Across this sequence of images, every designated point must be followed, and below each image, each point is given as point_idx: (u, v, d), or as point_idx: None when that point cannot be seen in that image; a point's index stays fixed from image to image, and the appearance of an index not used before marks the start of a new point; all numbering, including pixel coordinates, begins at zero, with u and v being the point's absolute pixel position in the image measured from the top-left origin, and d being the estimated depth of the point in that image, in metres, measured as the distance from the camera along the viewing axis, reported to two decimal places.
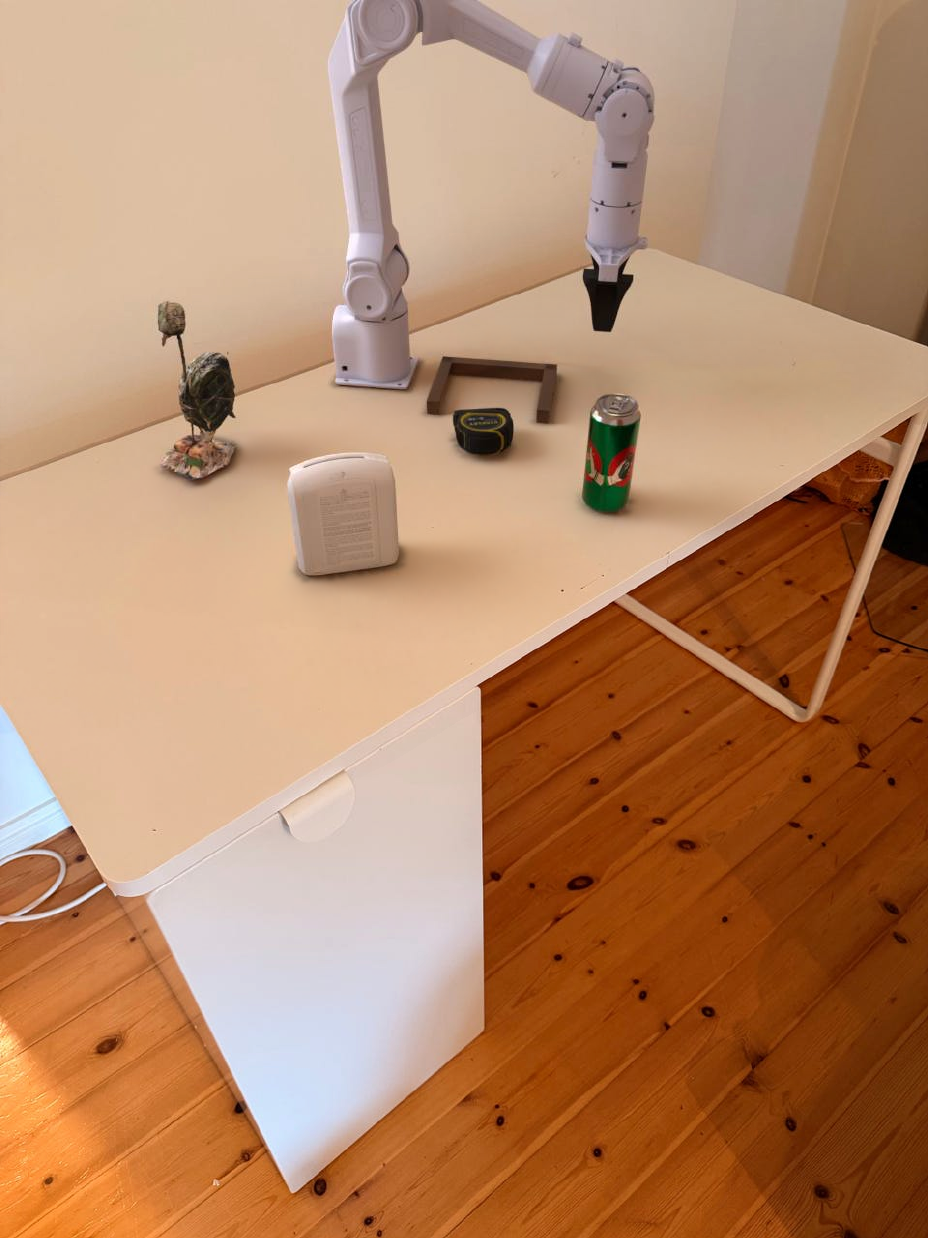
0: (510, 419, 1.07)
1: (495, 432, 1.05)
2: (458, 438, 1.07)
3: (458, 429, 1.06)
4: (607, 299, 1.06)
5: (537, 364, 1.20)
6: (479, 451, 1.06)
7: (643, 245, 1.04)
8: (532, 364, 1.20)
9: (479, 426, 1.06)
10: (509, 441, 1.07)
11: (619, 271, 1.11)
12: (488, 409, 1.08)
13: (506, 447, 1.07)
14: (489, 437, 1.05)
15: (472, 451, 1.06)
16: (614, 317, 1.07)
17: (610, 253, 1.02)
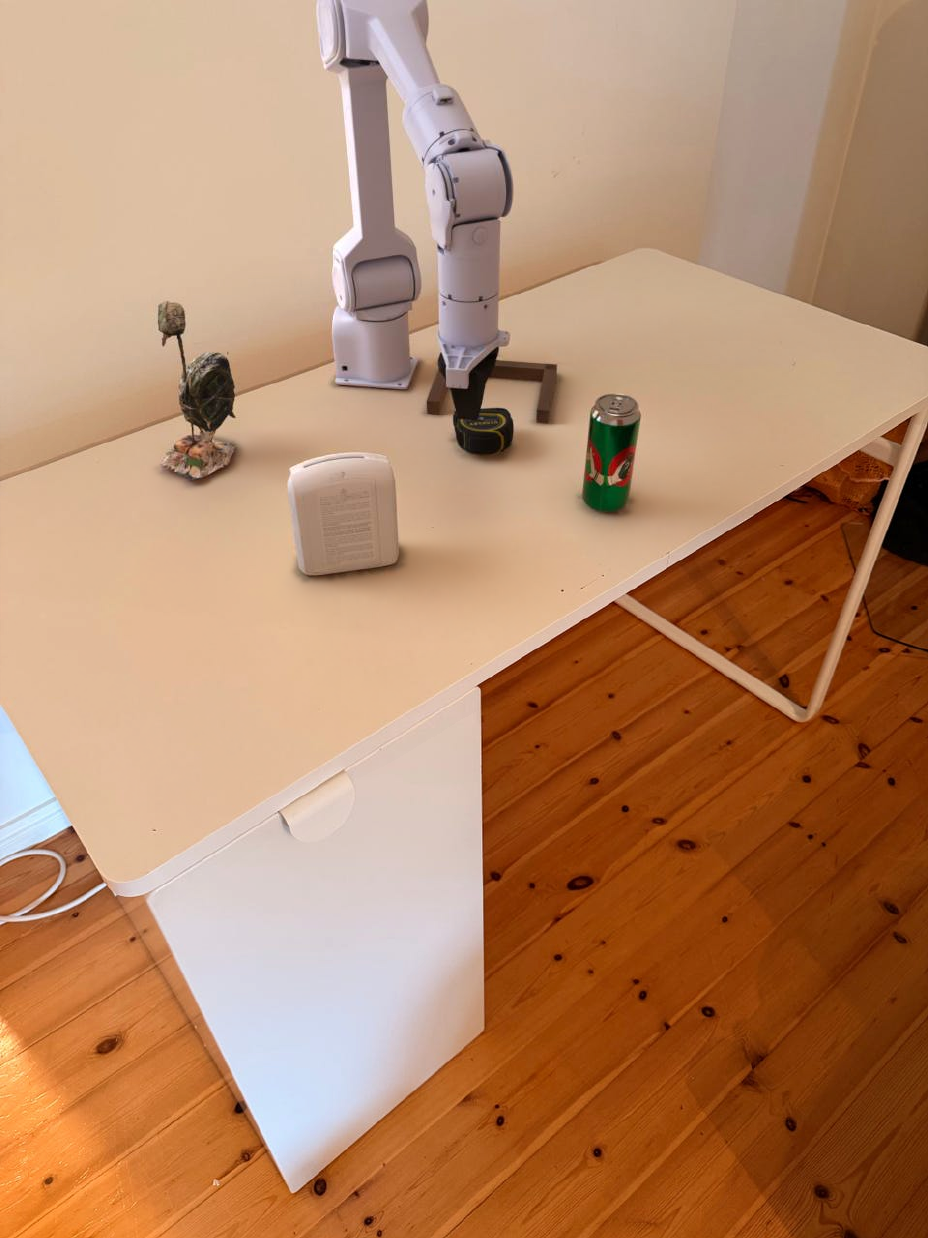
0: (510, 419, 1.07)
1: (495, 432, 1.05)
2: (458, 438, 1.07)
3: (458, 429, 1.06)
4: (469, 386, 0.93)
5: (537, 364, 1.20)
6: (479, 451, 1.06)
7: (503, 342, 0.89)
8: (532, 364, 1.20)
9: (479, 426, 1.06)
10: (509, 441, 1.07)
11: None
12: (488, 409, 1.08)
13: (506, 447, 1.07)
14: (489, 437, 1.05)
15: (472, 451, 1.06)
16: (479, 405, 0.95)
17: (461, 354, 0.87)
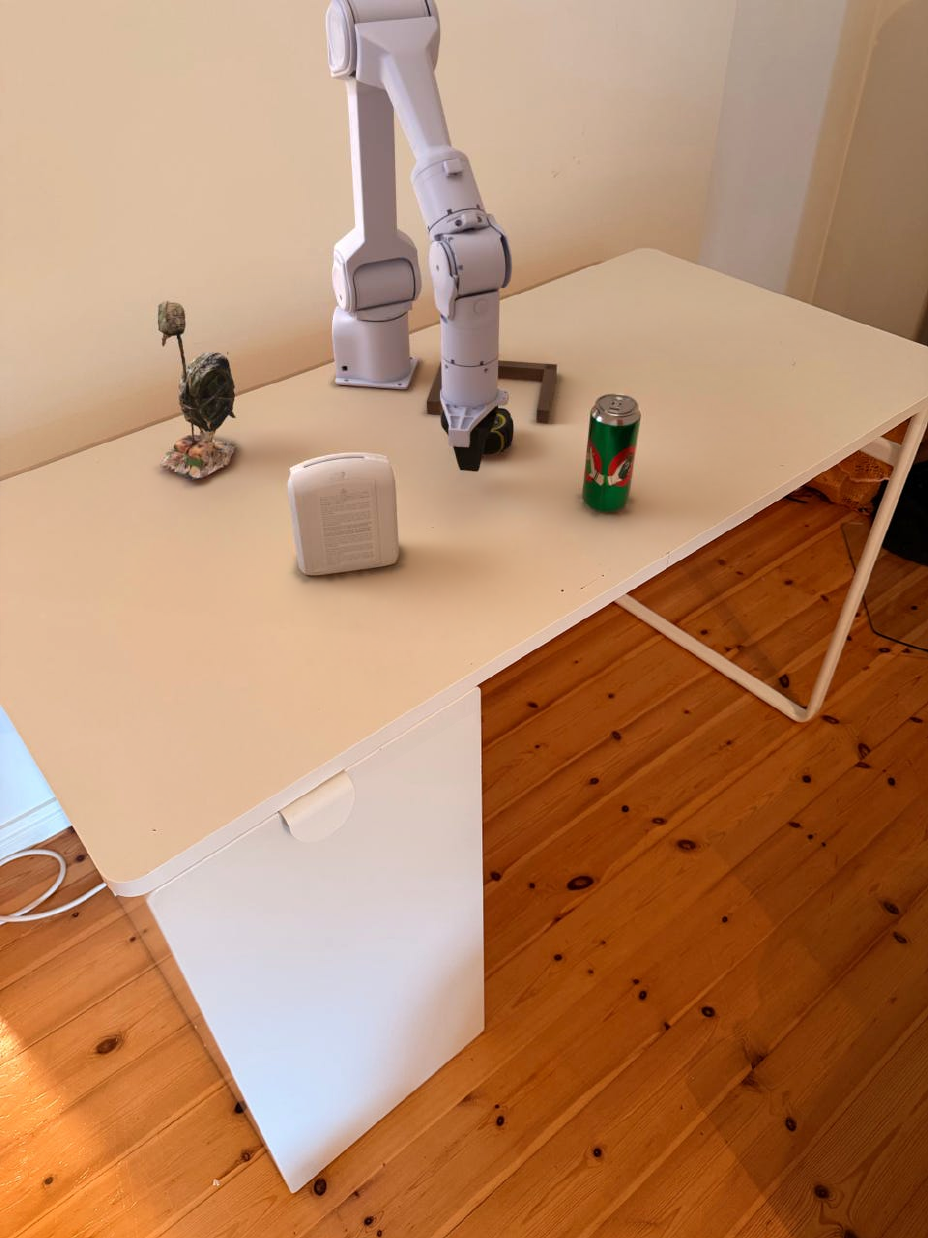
0: (510, 419, 1.07)
1: (495, 432, 1.05)
2: None
3: None
4: (470, 440, 0.99)
5: (537, 364, 1.20)
6: None
7: (502, 402, 0.95)
8: (532, 364, 1.20)
9: None
10: (509, 441, 1.07)
11: None
12: None
13: (506, 447, 1.07)
14: (489, 437, 1.05)
15: None
16: (479, 458, 1.00)
17: (463, 414, 0.93)
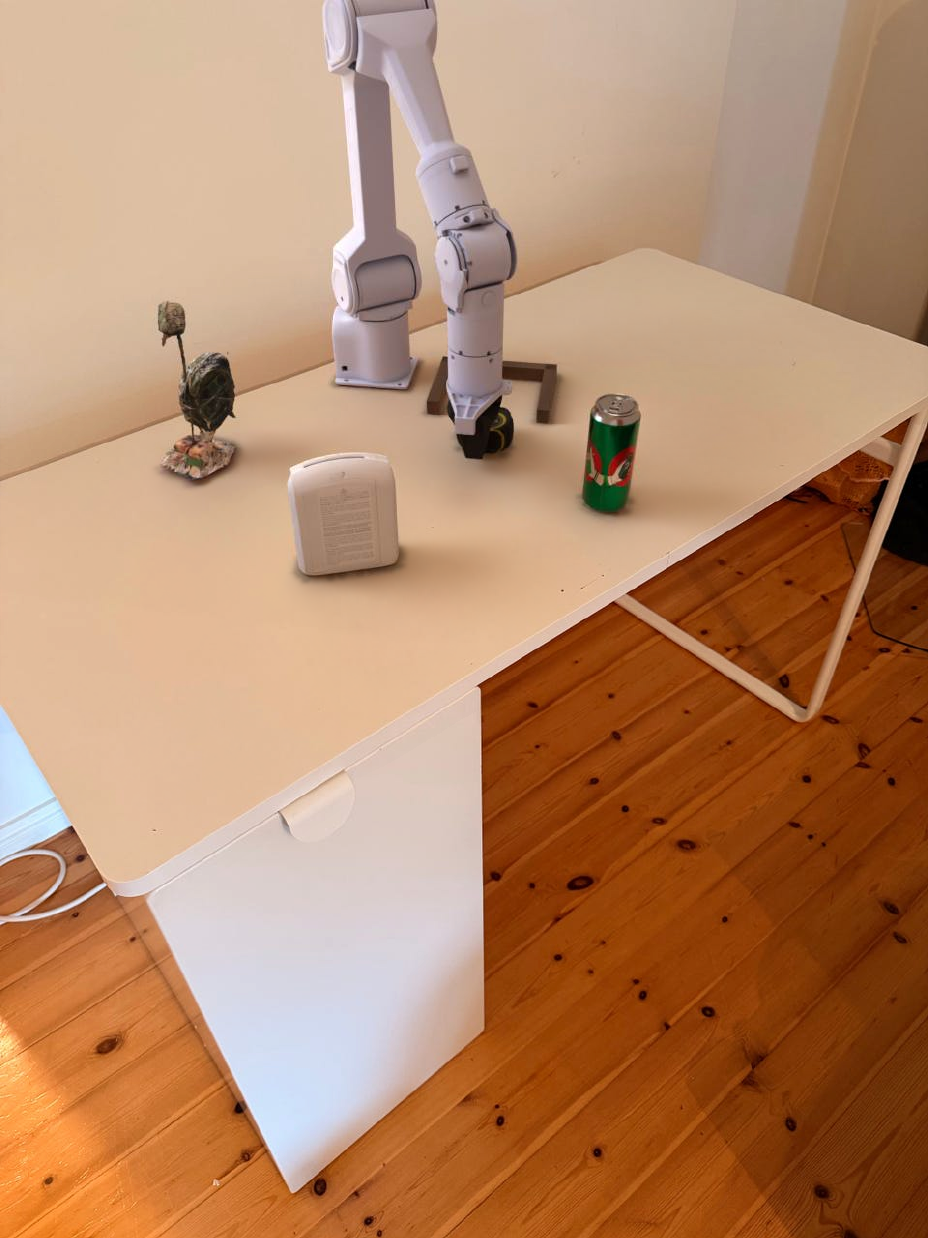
0: (510, 418, 1.07)
1: (495, 431, 1.05)
2: (458, 437, 1.07)
3: None
4: (475, 429, 1.02)
5: (537, 364, 1.20)
6: None
7: (507, 391, 0.98)
8: (532, 364, 1.20)
9: None
10: (509, 440, 1.07)
11: None
12: None
13: (506, 446, 1.07)
14: (489, 436, 1.05)
15: None
16: (484, 446, 1.03)
17: (468, 403, 0.96)
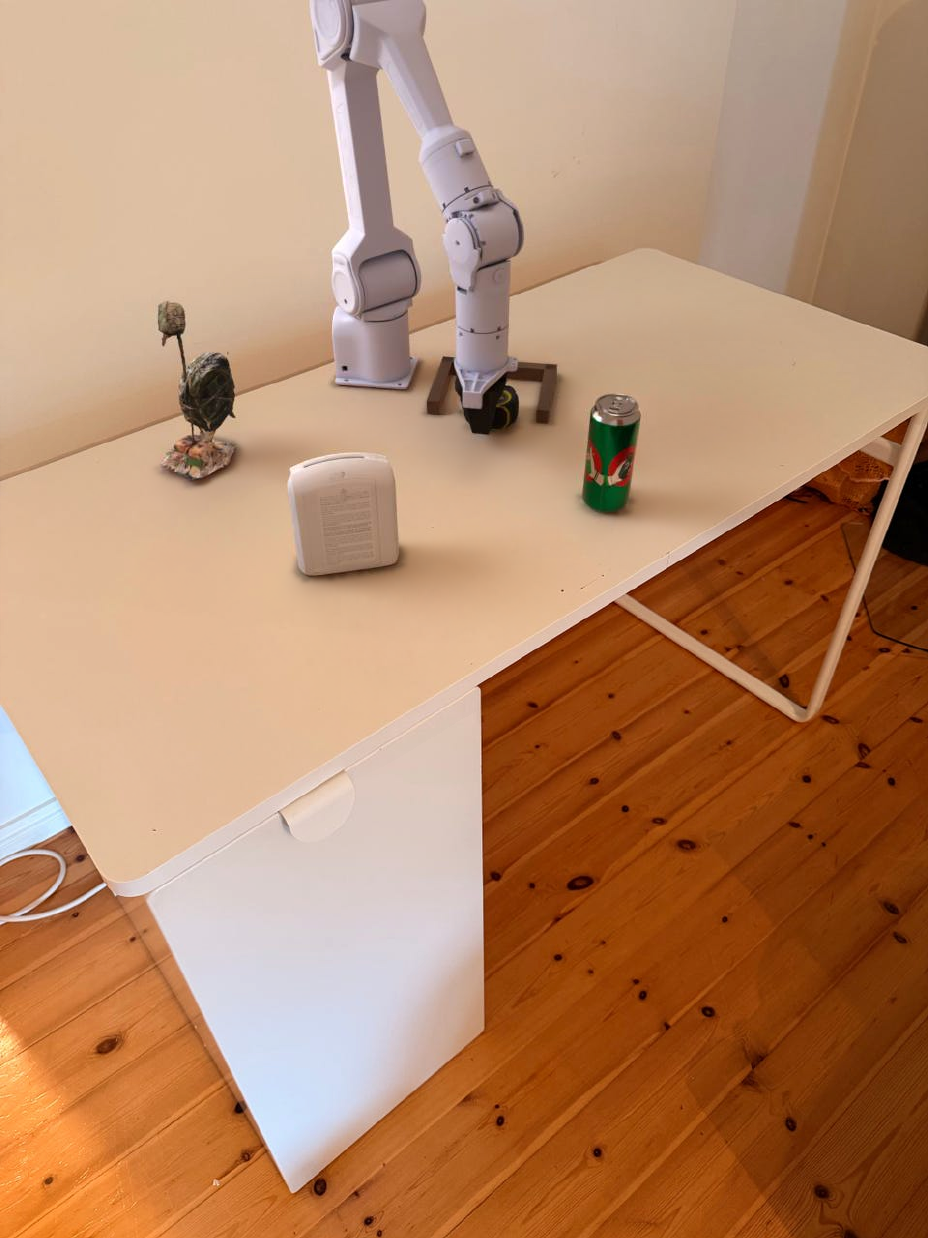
0: (516, 395, 1.11)
1: (501, 407, 1.09)
2: (465, 413, 1.10)
3: None
4: (482, 404, 1.06)
5: (537, 364, 1.20)
6: None
7: (512, 367, 1.02)
8: (532, 364, 1.20)
9: None
10: (515, 416, 1.11)
11: None
12: None
13: (512, 422, 1.11)
14: (495, 412, 1.09)
15: None
16: (490, 421, 1.07)
17: (476, 378, 1.00)
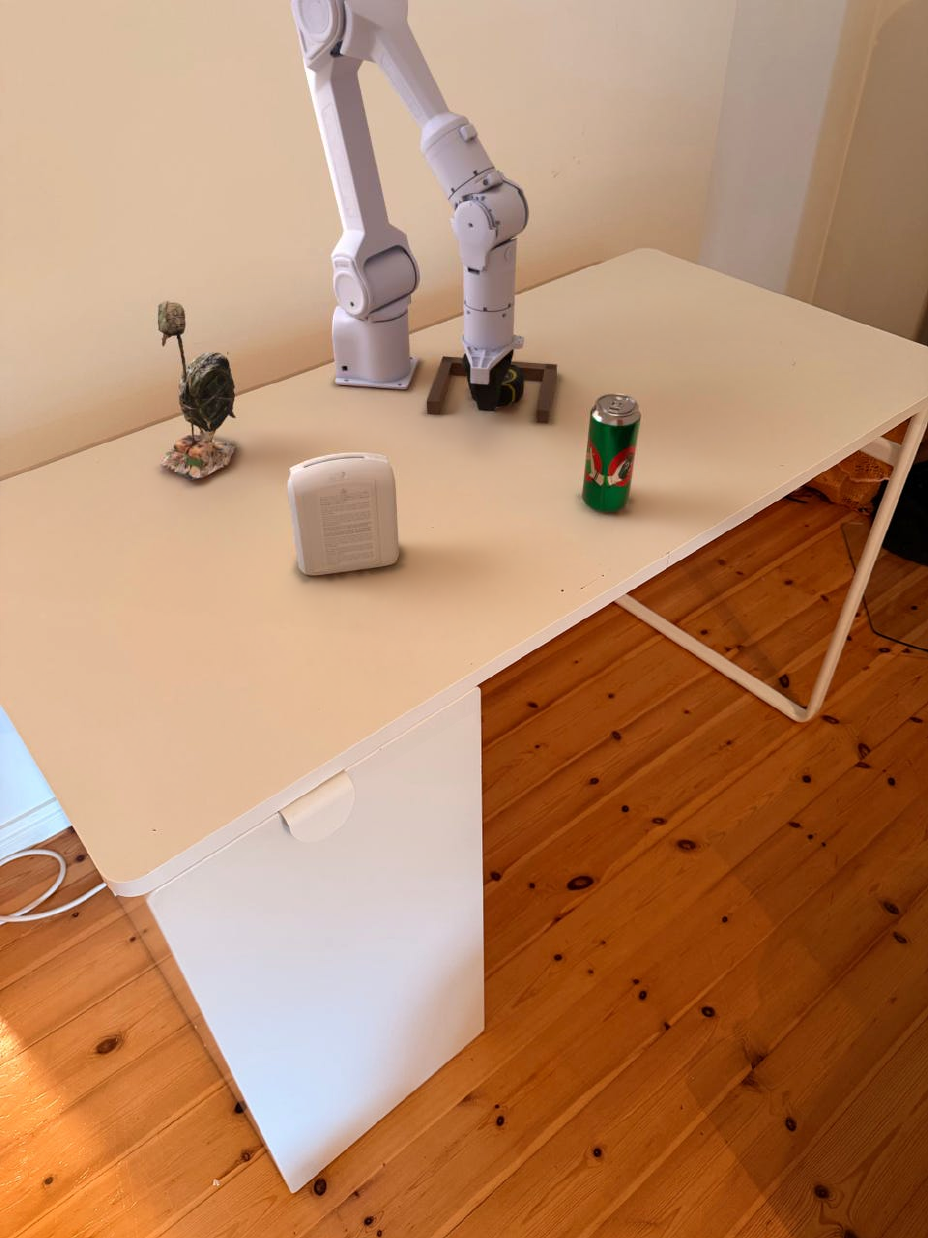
0: (521, 374, 1.14)
1: (507, 385, 1.12)
2: (472, 391, 1.14)
3: None
4: (488, 382, 1.10)
5: (537, 364, 1.20)
6: None
7: (518, 345, 1.05)
8: (532, 364, 1.20)
9: None
10: (520, 394, 1.15)
11: None
12: None
13: (517, 400, 1.15)
14: (501, 390, 1.13)
15: None
16: (496, 398, 1.11)
17: (483, 355, 1.03)
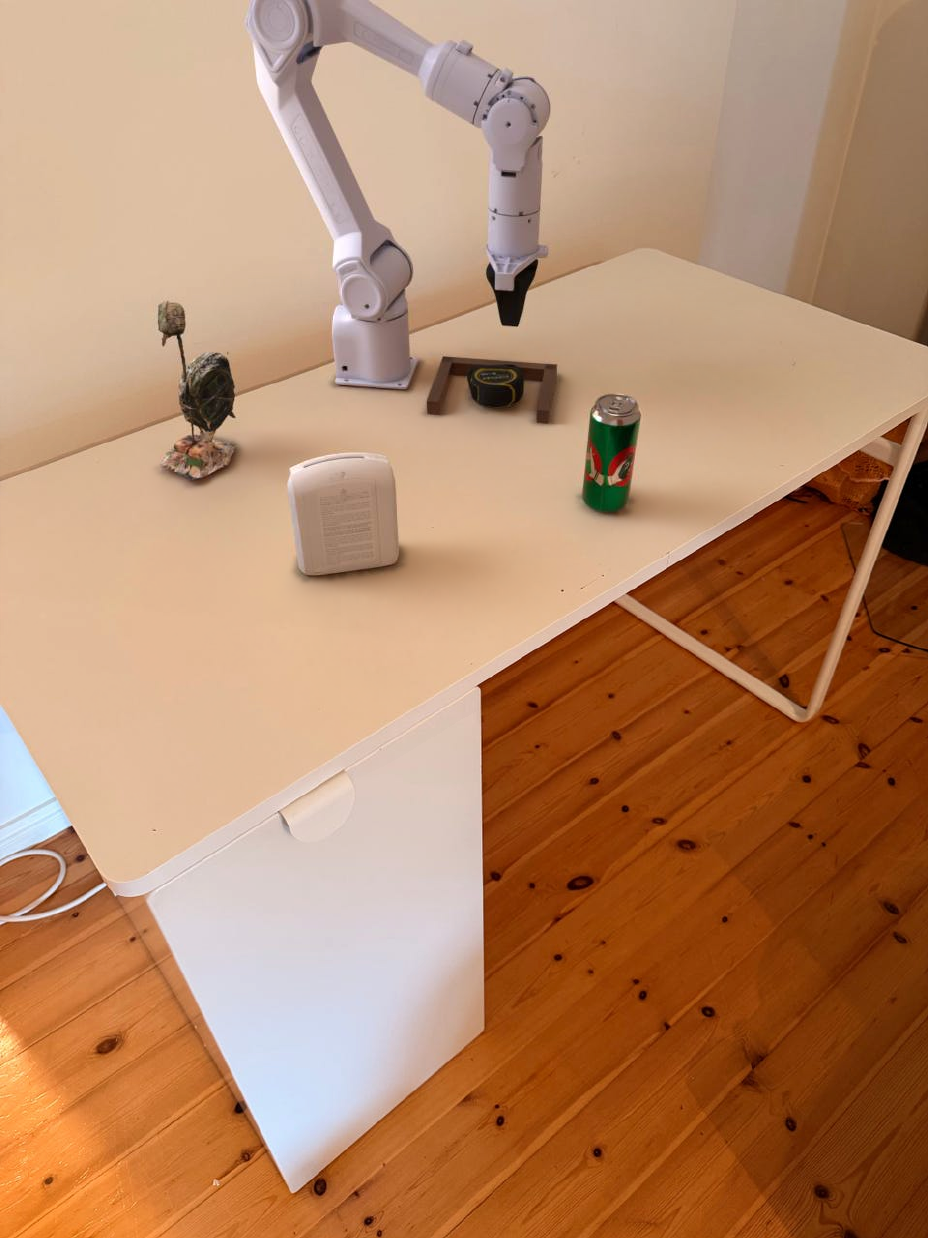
0: (521, 374, 1.14)
1: (507, 385, 1.13)
2: (472, 392, 1.14)
3: (472, 383, 1.14)
4: (512, 294, 1.08)
5: (537, 364, 1.20)
6: (492, 404, 1.14)
7: (543, 254, 1.04)
8: (532, 364, 1.20)
9: (492, 380, 1.13)
10: (520, 394, 1.15)
11: None
12: (500, 365, 1.16)
13: (517, 400, 1.15)
14: (501, 390, 1.13)
15: (485, 404, 1.14)
16: (520, 312, 1.10)
17: (508, 262, 1.02)
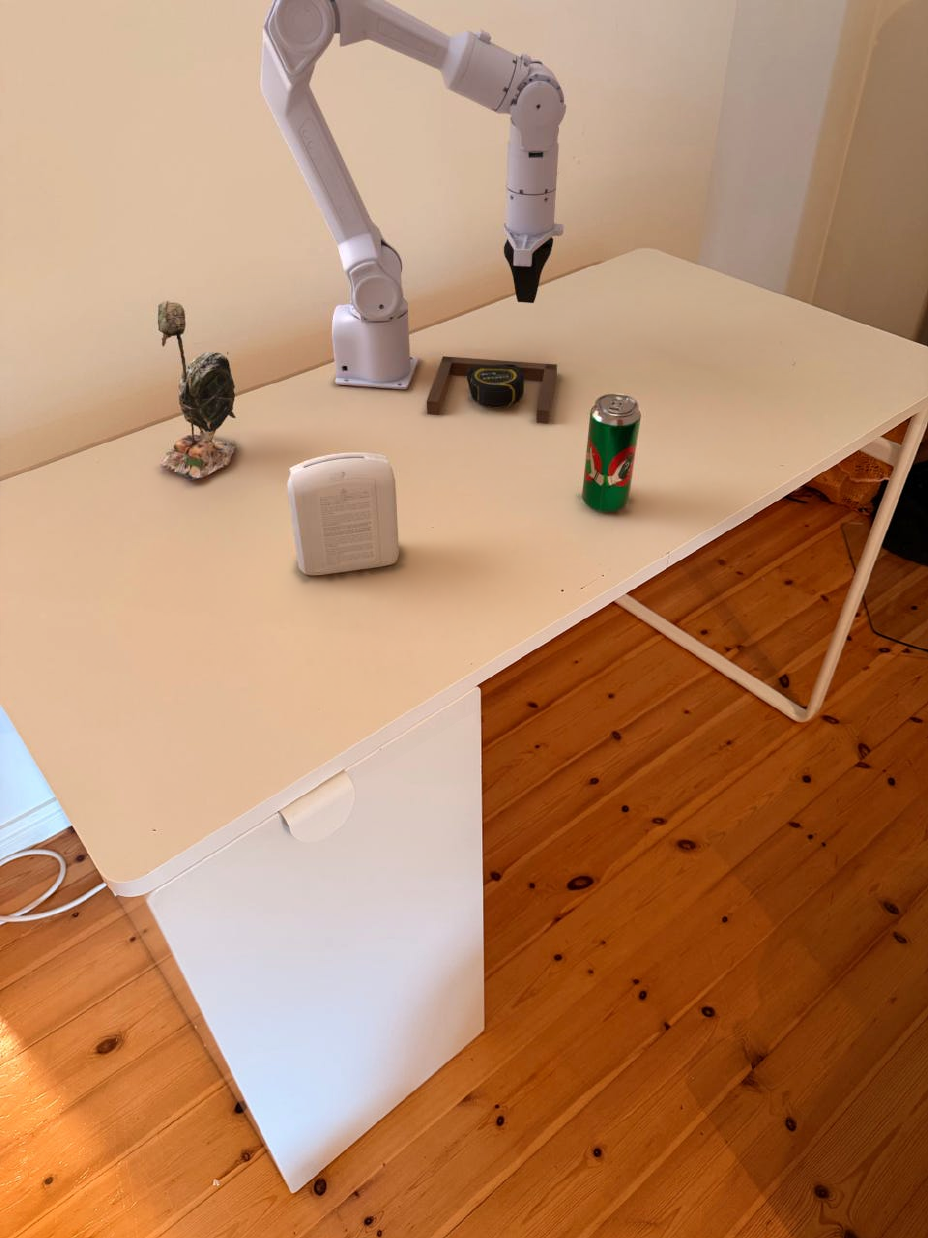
0: (521, 374, 1.14)
1: (507, 385, 1.13)
2: (472, 392, 1.14)
3: (472, 383, 1.14)
4: (528, 271, 1.13)
5: (537, 364, 1.20)
6: (492, 404, 1.14)
7: (558, 231, 1.09)
8: (532, 364, 1.20)
9: (492, 380, 1.13)
10: (520, 394, 1.15)
11: None
12: (500, 365, 1.16)
13: (517, 400, 1.15)
14: (501, 390, 1.13)
15: (485, 404, 1.14)
16: (535, 288, 1.14)
17: (525, 239, 1.07)
